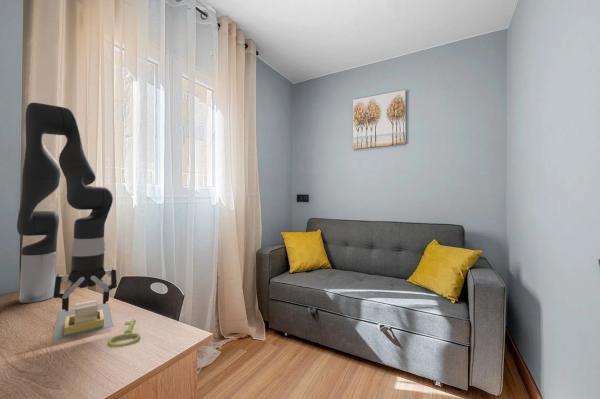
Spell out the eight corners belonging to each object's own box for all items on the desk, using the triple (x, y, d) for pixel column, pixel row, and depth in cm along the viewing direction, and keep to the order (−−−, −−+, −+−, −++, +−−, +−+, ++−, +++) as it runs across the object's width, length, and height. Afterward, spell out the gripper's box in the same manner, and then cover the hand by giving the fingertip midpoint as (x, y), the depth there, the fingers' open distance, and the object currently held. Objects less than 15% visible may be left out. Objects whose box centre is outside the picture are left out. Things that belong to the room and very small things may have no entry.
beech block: (74, 323, 75) (75, 303, 75) (95, 319, 78) (96, 299, 78) (74, 330, 71) (75, 309, 71) (96, 325, 75) (97, 304, 75)
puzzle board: (58, 315, 82) (58, 305, 83) (108, 305, 91) (108, 297, 91) (51, 344, 66) (52, 333, 66) (113, 329, 74) (113, 319, 74)
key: (135, 325, 78) (135, 318, 78) (141, 342, 69) (141, 335, 69) (106, 332, 74) (106, 324, 74) (108, 352, 64) (108, 344, 64)
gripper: (116, 248, 83) (114, 297, 83) (56, 252, 73) (53, 308, 73) (119, 252, 77) (116, 305, 77) (54, 257, 68) (51, 318, 68)
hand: (86, 306), depth 75 cm, fingers open, 8 cm apart
